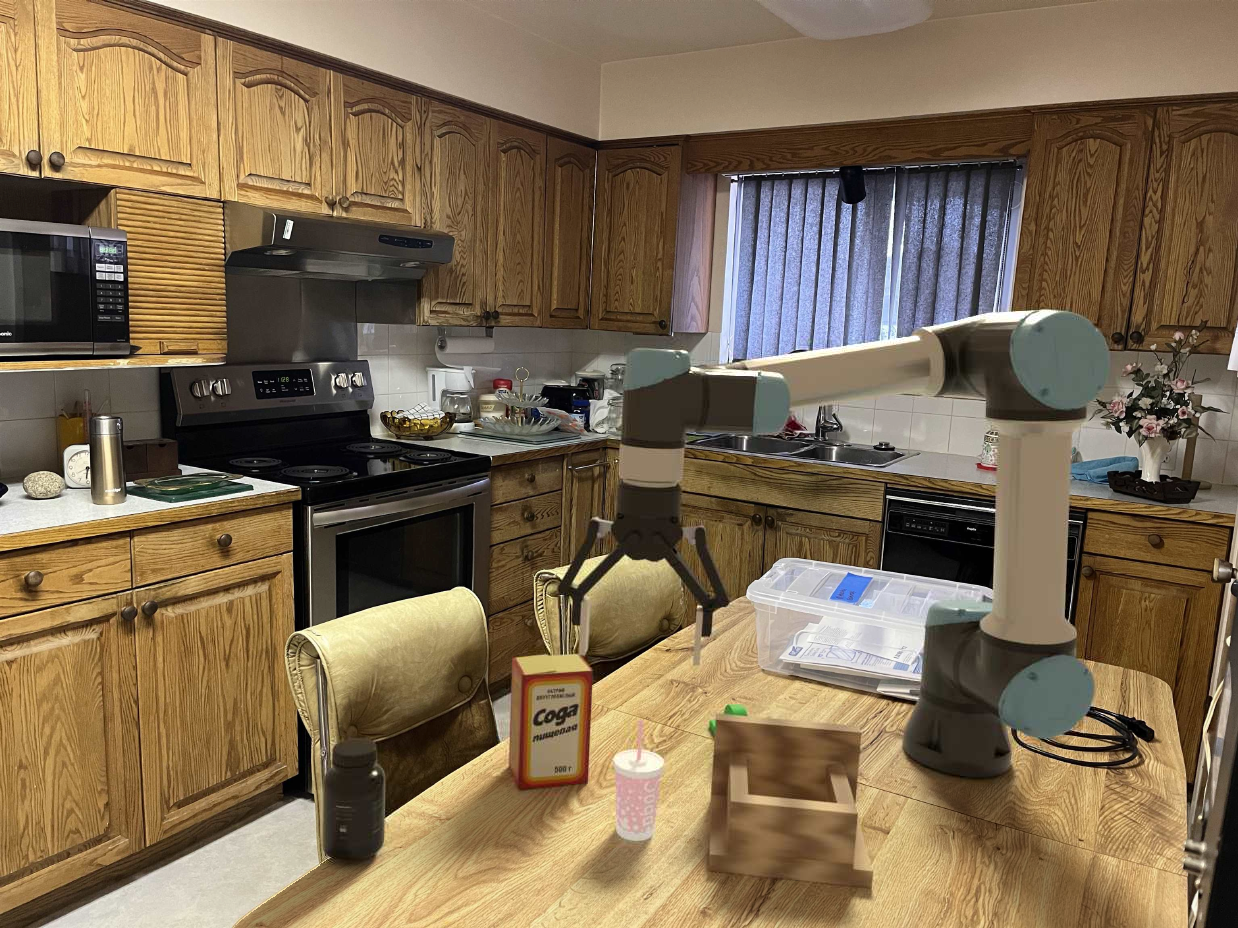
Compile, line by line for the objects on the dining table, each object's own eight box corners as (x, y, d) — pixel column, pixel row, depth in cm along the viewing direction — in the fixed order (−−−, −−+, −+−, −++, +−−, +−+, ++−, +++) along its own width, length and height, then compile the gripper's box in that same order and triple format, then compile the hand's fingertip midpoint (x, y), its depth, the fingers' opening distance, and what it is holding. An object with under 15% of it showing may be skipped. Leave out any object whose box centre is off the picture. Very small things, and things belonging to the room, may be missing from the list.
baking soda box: (575, 760, 129) (580, 651, 127) (588, 782, 123) (593, 667, 121) (508, 767, 126) (512, 655, 124) (518, 789, 120) (522, 672, 118)
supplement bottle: (309, 855, 103) (310, 754, 101) (344, 825, 109) (345, 730, 108) (363, 868, 101) (364, 764, 99) (395, 837, 107) (397, 739, 106)
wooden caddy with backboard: (851, 815, 118) (859, 725, 116) (871, 887, 102) (880, 785, 100) (710, 801, 119) (716, 713, 118) (708, 870, 104) (715, 769, 102)
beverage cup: (622, 847, 107) (627, 734, 106) (602, 822, 113) (607, 713, 111) (668, 838, 110) (675, 727, 108) (647, 813, 115) (652, 707, 114)
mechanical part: (773, 765, 131) (776, 712, 130) (732, 767, 130) (736, 713, 129) (746, 730, 143) (749, 681, 142) (708, 731, 142) (712, 682, 140)
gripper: (756, 484, 110) (743, 655, 112) (550, 469, 112) (542, 637, 115) (759, 494, 102) (745, 677, 105) (538, 478, 105) (530, 657, 108)
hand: (639, 656), depth 110 cm, fingers open, 13 cm apart
